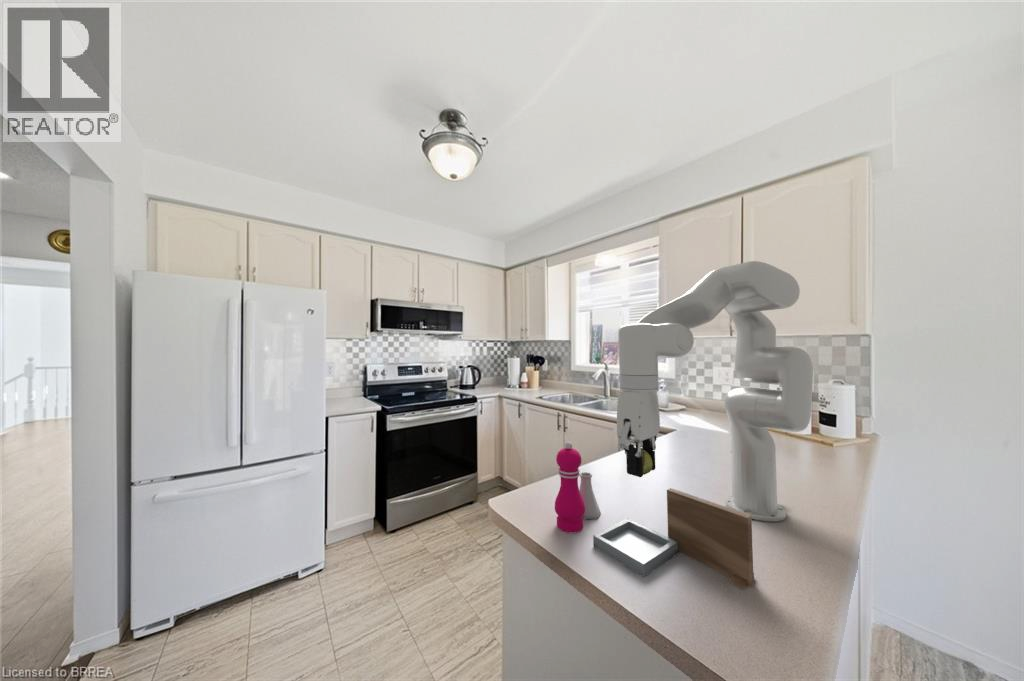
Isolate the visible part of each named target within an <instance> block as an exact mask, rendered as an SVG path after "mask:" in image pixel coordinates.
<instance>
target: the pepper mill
mask: <svg viewBox="0 0 1024 681" xmlns="http://www.w3.org/2000/svg"><path fill="white" fill-rule="evenodd" d="M556 464H557V466H558V476H559V478H560V487H559V490H558V493H557V496H556V498H555V501H554V511H555V513H556V515H557V516H556V526H557V528H558V529H559V530H560V531H562V532H565V533H572V534H573V533H579V532H580V531H583V529H584V518H582V516H583V515H584V513H585V504H584V501H583V498H582V496H581V494H580V491H579V489H580V486H579V483H578V482H579V481H578V480H579V478H580V471H581V470H580V469H579V468H580V467H581V465H582V456H581V453H580V452H579V451H578V450H577V449H575V448H573V443H572V442H571V441H567V442H565V443H564V448H561V449H560V450H559V451H558V452H557V454H556Z"/></svg>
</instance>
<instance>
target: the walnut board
mask: <svg viewBox="0 0 1024 681" xmlns="http://www.w3.org/2000/svg"><path fill="white" fill-rule="evenodd" d="M666 503H667V504H666V507H667V508H666V510H667V512H666V514H667V537H668V538H670V539H673V540H675V541H677V542H678V549H677V550H678V553H677V554H676V551H675V554H676V556H677V555H678V554H682V555H683V556H686V557H688V558H690V559H692V560H694V561H696V562H698V563H700V564H702V565H704V566H706V567H708V568H710V569H712V570H713V571H717V572H718V573H720V574H722V575H724V576H726V577H729V583H730V584H731V585H733V586H735V587H736V588H739V589H740V590H744V589H746V587H748V588H751V587H752V586H753V585H754V584H755V583H754V579H755V572H754V556H753V555H754V553H753V552H754V551H753V550H754V549H753V526H752V523H753V522H752V518H751V515H748V514H745V513H742V512H739V511H736V510H733V509H731V508H728V507H727V506H725V505H722V504H718V503H715V502H713V501H709V500H706V499H704V498H701V497H698V496H695V495H694V494H693V495H692V494H689V493H686V492H683V491H680V490H677V489H675V488H672V487H671V488H668V489H666Z"/></svg>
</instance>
